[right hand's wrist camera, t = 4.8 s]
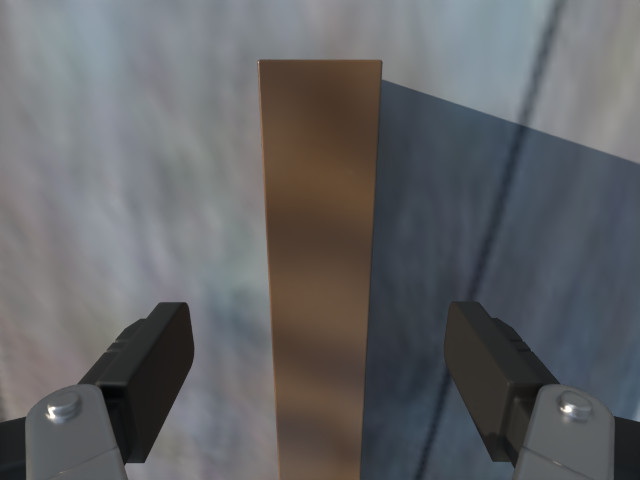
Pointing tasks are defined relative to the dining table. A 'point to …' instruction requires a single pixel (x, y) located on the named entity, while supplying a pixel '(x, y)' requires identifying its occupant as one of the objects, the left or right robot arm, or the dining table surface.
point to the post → (319, 254)
